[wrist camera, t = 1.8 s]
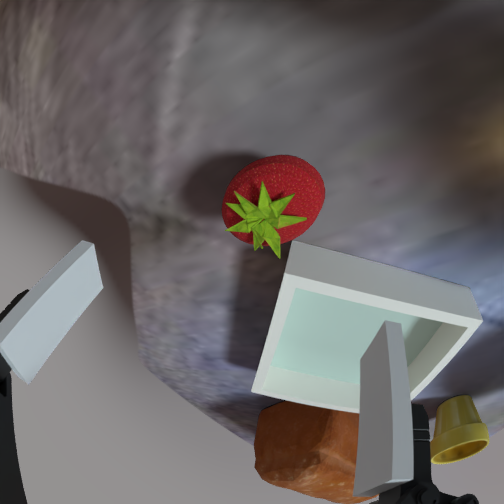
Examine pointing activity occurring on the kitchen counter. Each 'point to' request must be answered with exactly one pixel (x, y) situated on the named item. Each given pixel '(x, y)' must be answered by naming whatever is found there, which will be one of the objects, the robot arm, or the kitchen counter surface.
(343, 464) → the bread
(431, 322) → the serving bin
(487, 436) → the plant pot
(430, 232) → the kitchen counter surface
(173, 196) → the kitchen counter surface
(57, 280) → the robot arm
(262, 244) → the strawberry
